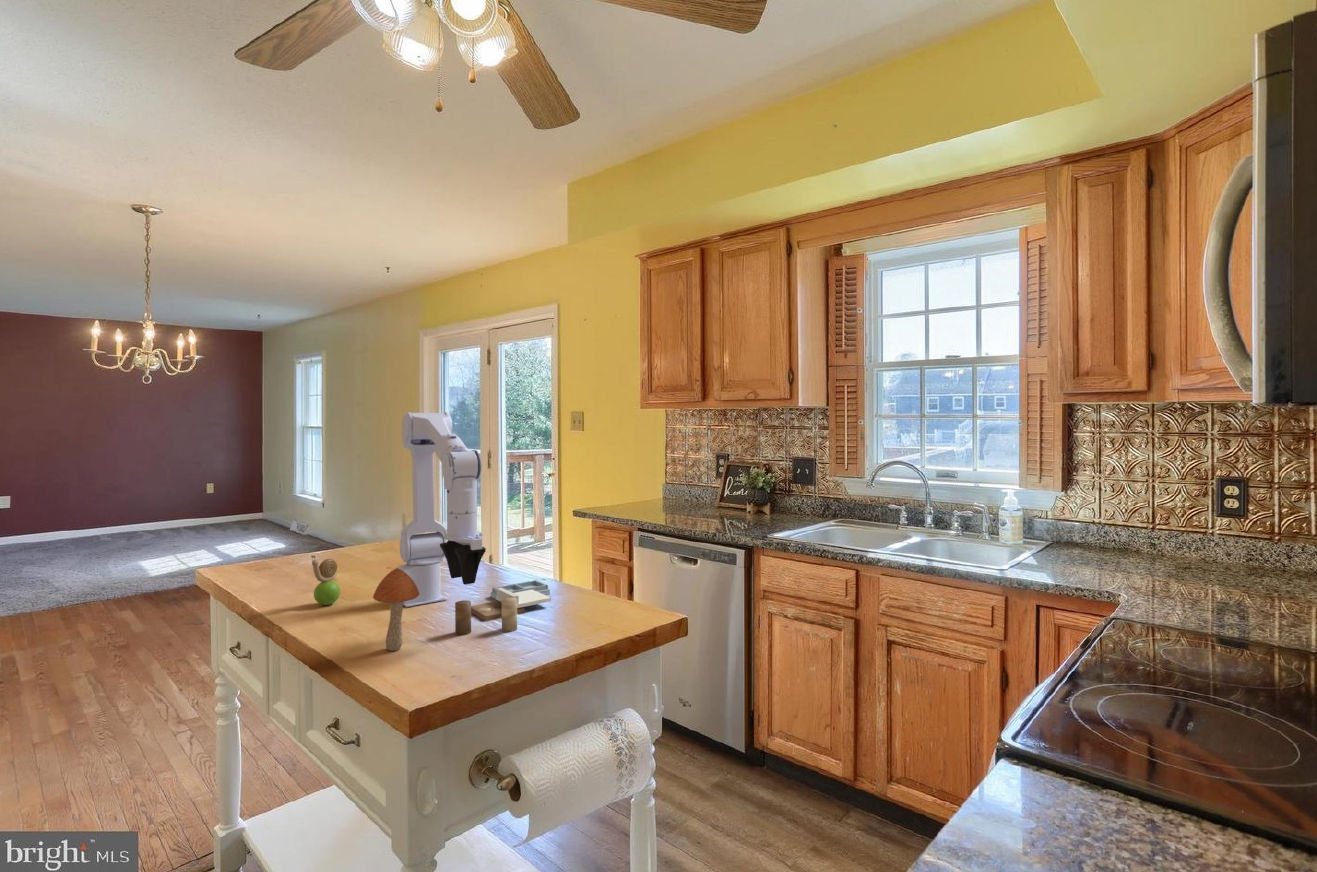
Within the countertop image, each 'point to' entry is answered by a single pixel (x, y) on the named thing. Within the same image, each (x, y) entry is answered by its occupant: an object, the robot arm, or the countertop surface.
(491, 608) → the board
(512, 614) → the maple peg
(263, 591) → the countertop surface
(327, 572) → the snail figurine
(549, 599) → the cover
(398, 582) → the mushroom
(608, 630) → the countertop surface
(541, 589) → the socket board
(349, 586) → the countertop surface
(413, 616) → the countertop surface
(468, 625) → the walnut peg
